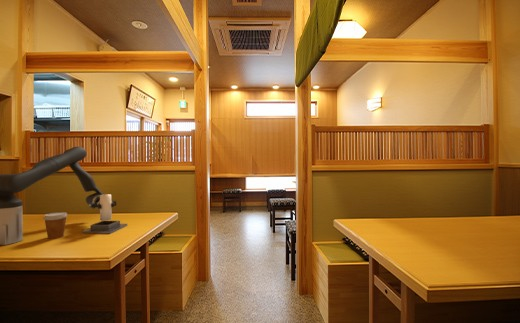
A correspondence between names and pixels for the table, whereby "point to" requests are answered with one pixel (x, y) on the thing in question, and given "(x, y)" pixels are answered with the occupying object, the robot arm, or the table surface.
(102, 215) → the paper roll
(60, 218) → the disposable coffee cup
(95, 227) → the stand
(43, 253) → the table surface
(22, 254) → the table surface
